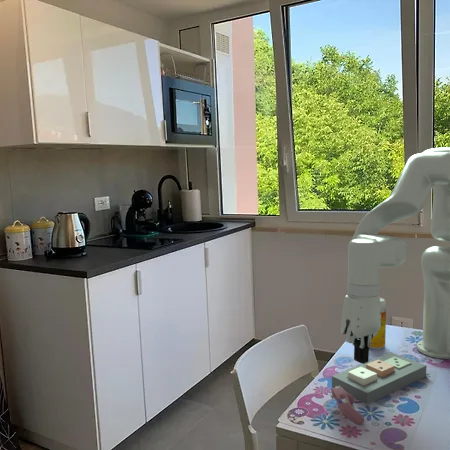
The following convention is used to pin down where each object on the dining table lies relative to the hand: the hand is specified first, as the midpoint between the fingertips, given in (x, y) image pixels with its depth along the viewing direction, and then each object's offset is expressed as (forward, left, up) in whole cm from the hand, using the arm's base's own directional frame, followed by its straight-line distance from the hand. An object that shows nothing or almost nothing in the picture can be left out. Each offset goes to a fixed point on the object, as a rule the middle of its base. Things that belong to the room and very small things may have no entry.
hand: (361, 361), depth 115 cm
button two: (-8, 0, -6) cm, 10 cm away
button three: (-15, 0, -7) cm, 16 cm away
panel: (-8, 0, -8) cm, 11 cm away
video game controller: (+11, +5, -8) cm, 15 cm away
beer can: (-26, -16, -8) cm, 31 cm away
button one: (-1, 0, -6) cm, 6 cm away
